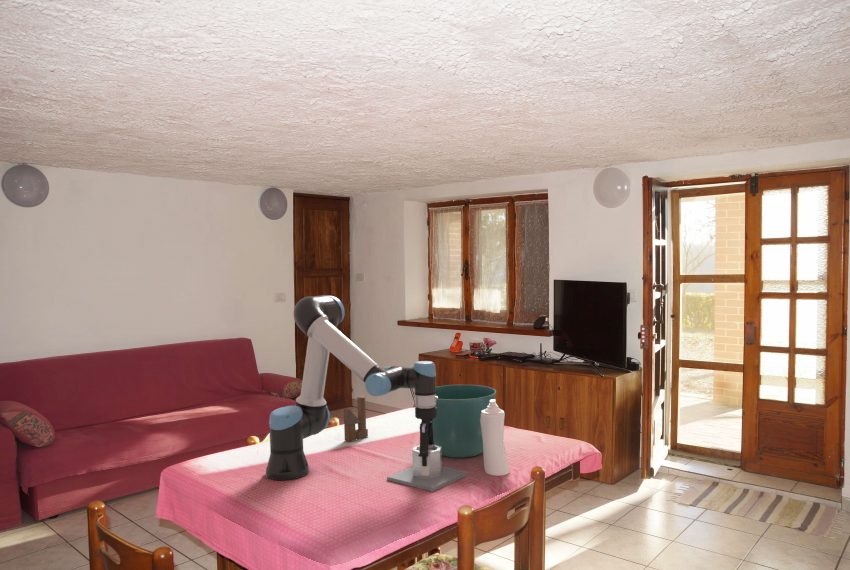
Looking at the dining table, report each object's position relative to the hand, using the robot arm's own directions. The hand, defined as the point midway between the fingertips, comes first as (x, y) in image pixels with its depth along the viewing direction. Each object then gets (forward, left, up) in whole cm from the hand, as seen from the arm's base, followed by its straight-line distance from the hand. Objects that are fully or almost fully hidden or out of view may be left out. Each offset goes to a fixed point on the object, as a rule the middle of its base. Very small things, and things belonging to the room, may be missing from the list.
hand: (427, 470), depth 213 cm
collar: (0, 0, -1) cm, 1 cm away
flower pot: (+32, +9, -3) cm, 33 cm away
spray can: (+20, -15, -3) cm, 25 cm away
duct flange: (0, 0, -3) cm, 3 cm away
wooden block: (+23, +58, -3) cm, 62 cm away
